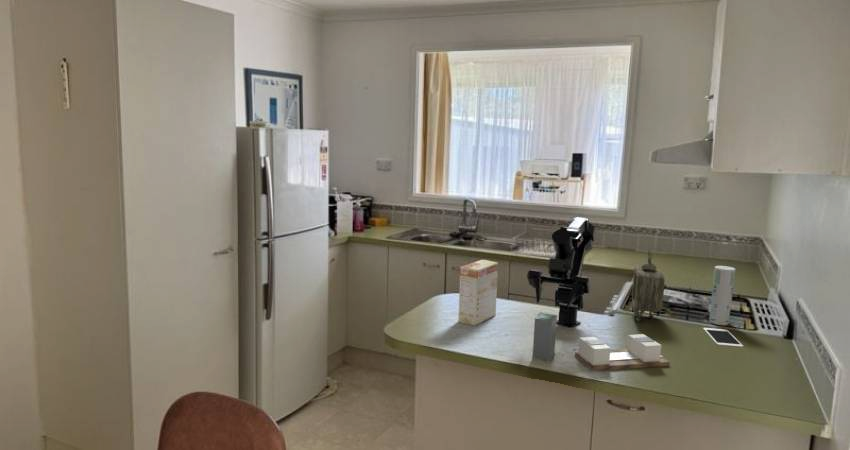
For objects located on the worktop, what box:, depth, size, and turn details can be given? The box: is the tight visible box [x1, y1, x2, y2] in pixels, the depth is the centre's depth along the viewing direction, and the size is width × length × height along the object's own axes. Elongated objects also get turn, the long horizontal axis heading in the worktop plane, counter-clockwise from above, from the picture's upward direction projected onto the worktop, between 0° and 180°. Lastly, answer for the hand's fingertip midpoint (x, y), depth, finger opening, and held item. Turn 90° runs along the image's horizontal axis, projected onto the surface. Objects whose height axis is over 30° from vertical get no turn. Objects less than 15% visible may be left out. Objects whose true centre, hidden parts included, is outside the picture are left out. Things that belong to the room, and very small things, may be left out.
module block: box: [532, 312, 558, 362], centre depth 172 cm, size 6×5×12 cm
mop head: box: [631, 249, 666, 322], centre depth 209 cm, size 14×9×25 cm, turn 164°
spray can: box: [708, 265, 736, 326], centre depth 207 cm, size 6×6×20 cm
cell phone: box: [703, 327, 744, 348], centre depth 193 cm, size 8×16×1 cm, turn 170°
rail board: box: [574, 348, 671, 372], centre depth 171 cm, size 24×11×2 cm, turn 102°
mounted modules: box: [577, 333, 662, 365], centre depth 170 cm, size 21×9×5 cm, turn 102°
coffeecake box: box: [457, 259, 499, 326], centre depth 203 cm, size 15×7×20 cm, turn 144°
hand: (552, 304), depth 177 cm, fingers open, 9 cm apart
